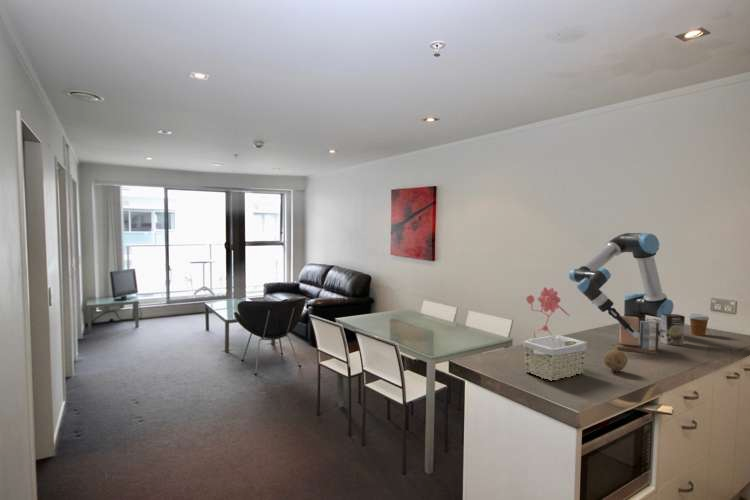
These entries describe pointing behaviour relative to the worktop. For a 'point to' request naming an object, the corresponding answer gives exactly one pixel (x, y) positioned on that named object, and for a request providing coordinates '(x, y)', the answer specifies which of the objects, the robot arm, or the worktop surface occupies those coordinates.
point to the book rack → (644, 338)
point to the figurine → (546, 303)
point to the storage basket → (555, 356)
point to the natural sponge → (615, 360)
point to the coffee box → (672, 329)
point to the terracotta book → (624, 334)
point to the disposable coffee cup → (698, 324)
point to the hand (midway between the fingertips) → (636, 335)
